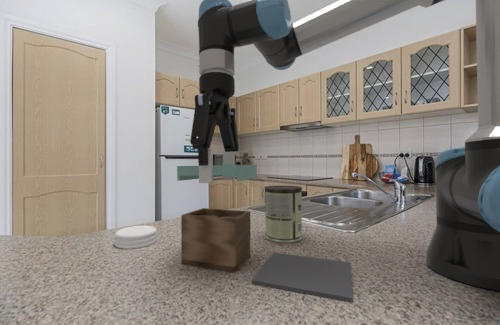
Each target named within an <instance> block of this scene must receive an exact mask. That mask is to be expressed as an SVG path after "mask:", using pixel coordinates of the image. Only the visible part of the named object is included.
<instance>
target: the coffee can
mask: <svg viewBox="0 0 500 325" xmlns="http://www.w3.org/2000/svg"><path fill="white" fill-rule="evenodd" d="M302 189H303V187H301V186H297V185H268V186H265V187H264V192H265V193H264V196H265V197H264V198H265V206H264V208H265V236H264V237H265V239H266V240H268V241H270V242H274V243H281V244H291V243H297V242H300V241H301V240H302V239H303V230H302V228H303V226H302V223H303V222H302V220H303V219H302V217H303V216H302V211H303V210H302Z"/></svg>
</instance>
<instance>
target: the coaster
mask: <svg viewBox="0 0 500 325" xmlns="http://www.w3.org/2000/svg"><path fill="white" fill-rule="evenodd" d="M157 232H158V229H157V228H156V227H155V226H152V225H135V226H134V225H132V226H129V227H125V228H121V229H118V230H117V231H116V232H115V234H114V237H115V238H114V245H115V247H116V248H118V249H121V248H122V250H123V249H124V250H133V249H135V250H136V249H140V248H141V249H142V248H144V247H145V248H146V247H149V246H151V245H154V244H155V243H156V242H157V240H158V237H157V236H158V233H157Z"/></svg>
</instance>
